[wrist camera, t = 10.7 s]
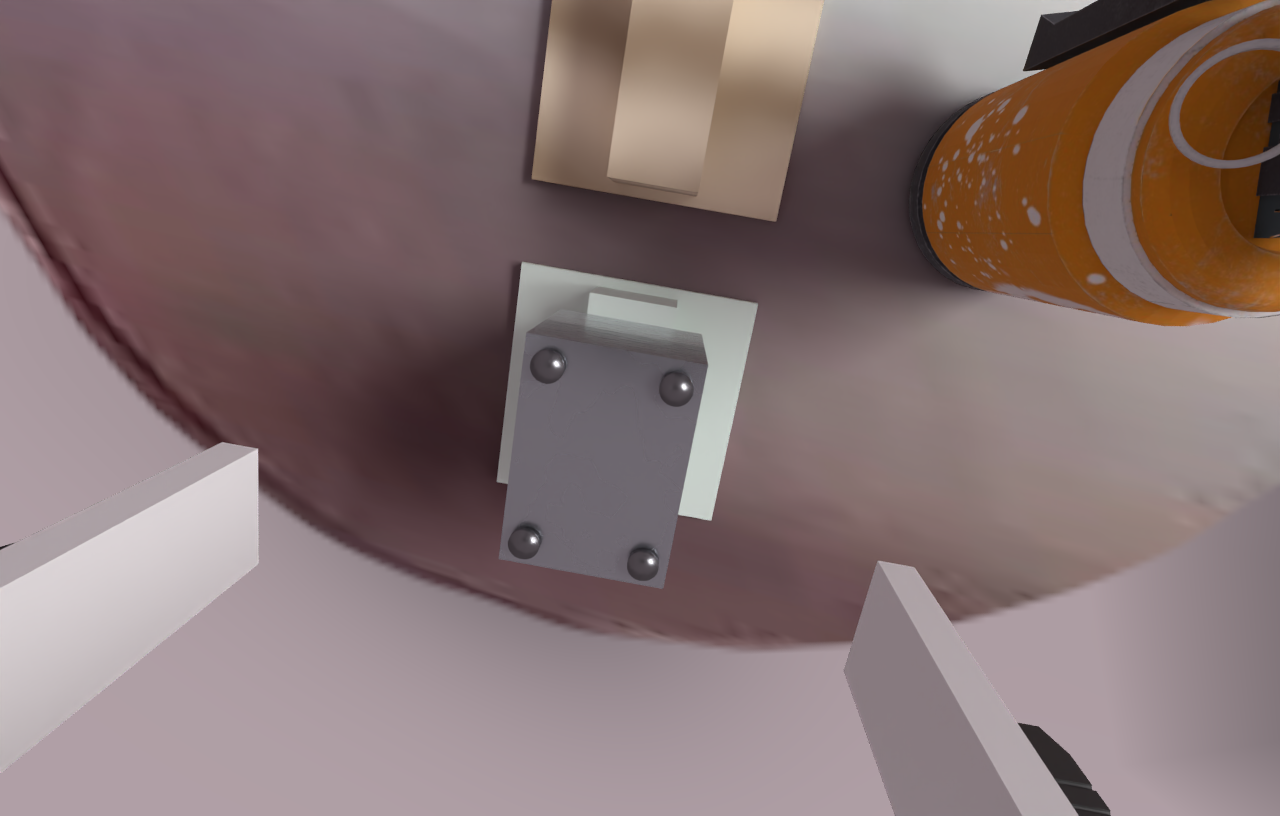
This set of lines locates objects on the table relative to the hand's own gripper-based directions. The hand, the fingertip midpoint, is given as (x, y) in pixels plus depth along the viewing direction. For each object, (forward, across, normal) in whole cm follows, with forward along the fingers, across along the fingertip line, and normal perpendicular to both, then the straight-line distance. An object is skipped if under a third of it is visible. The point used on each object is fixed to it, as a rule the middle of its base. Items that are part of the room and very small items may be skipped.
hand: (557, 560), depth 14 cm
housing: (+17, 0, -2) cm, 17 cm away
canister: (+22, +16, +12) cm, 29 cm away
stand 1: (+21, 0, +14) cm, 25 cm away
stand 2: (+21, 0, -2) cm, 21 cm away
